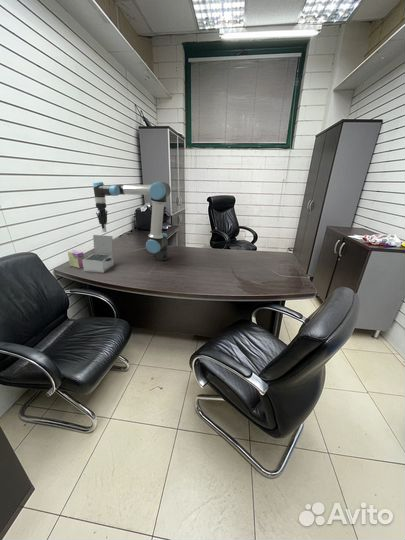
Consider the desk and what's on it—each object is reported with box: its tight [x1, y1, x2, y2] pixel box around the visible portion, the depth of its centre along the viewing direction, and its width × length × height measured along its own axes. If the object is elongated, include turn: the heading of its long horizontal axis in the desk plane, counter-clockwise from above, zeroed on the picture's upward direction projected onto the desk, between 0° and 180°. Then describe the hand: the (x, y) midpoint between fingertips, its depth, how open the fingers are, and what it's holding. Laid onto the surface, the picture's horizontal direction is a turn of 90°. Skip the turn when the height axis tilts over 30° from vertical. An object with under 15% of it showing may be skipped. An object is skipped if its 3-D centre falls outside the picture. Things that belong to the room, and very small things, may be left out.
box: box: [67, 249, 85, 269], centre depth 173 cm, size 10×6×12 cm, turn 65°
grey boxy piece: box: [82, 253, 115, 274], centre depth 171 cm, size 20×15×9 cm
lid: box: [92, 234, 114, 256], centre depth 176 cm, size 16×15×3 cm
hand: (104, 231), depth 183 cm, fingers closed
